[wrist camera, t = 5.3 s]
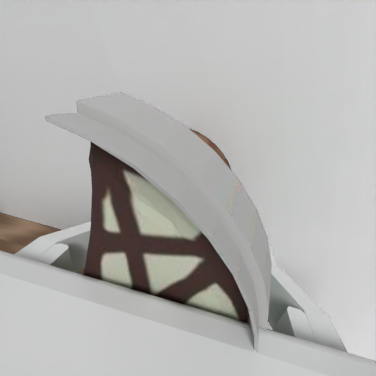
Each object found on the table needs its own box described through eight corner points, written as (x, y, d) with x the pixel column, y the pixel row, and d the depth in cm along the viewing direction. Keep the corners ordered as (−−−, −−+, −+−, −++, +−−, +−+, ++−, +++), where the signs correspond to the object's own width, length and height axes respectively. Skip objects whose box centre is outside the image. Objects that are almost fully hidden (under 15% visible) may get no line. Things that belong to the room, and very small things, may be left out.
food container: (218, 265, 16) (195, 448, 7) (158, 240, 17) (71, 381, 8) (285, 133, 11) (512, 230, 2) (192, 104, 11) (39, 78, 3)
